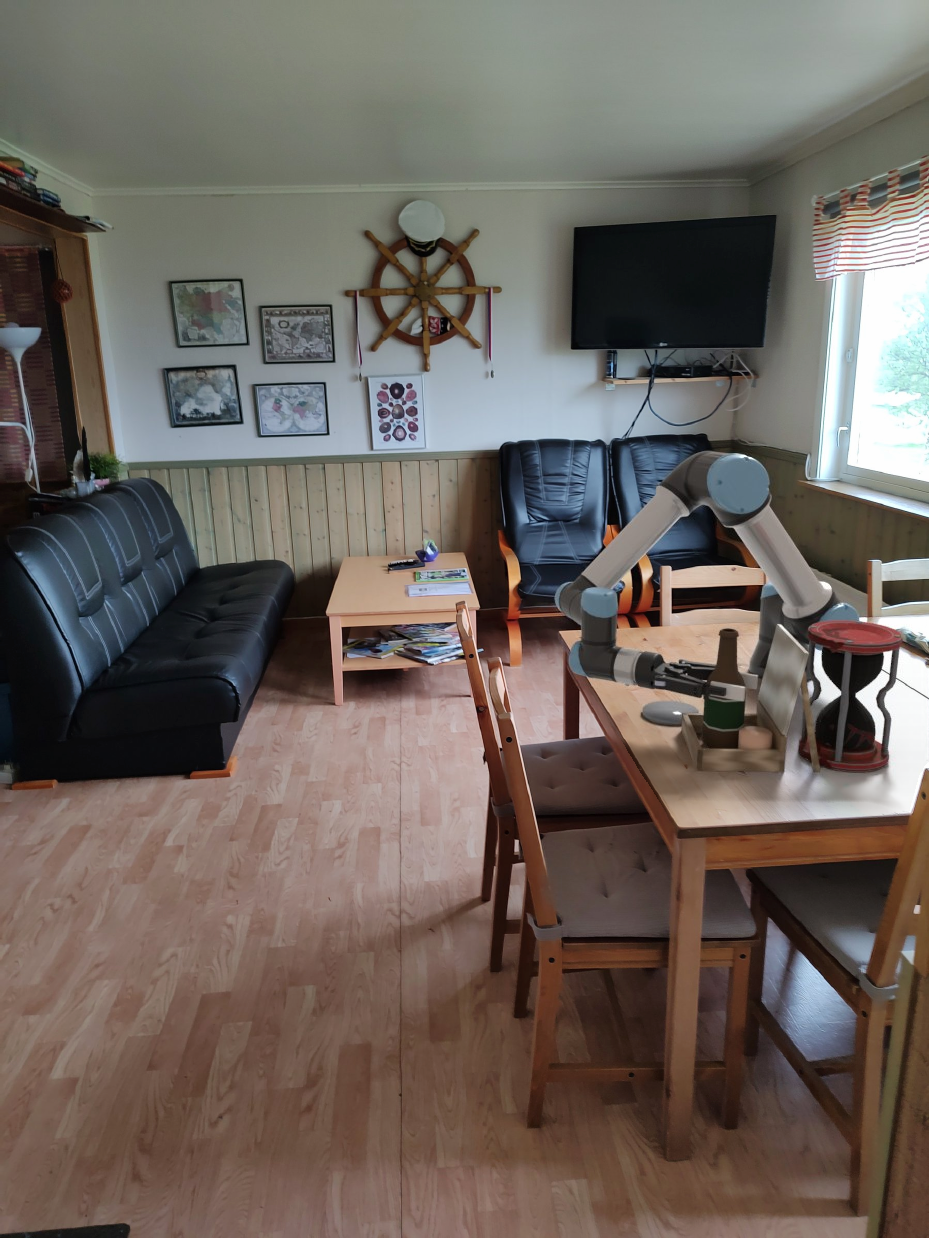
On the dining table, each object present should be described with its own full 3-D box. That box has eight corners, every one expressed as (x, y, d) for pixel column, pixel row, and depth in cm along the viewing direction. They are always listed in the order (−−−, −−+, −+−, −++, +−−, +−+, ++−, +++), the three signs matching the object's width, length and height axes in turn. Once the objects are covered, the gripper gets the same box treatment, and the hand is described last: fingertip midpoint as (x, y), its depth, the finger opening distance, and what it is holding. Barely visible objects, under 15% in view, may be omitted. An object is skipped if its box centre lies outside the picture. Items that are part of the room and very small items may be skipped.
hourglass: (805, 732, 176) (815, 615, 169) (892, 747, 168) (906, 625, 161) (790, 762, 163) (801, 636, 156) (884, 779, 155) (899, 648, 148)
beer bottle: (721, 755, 166) (728, 638, 160) (693, 742, 173) (699, 628, 167) (750, 747, 170) (758, 631, 163) (722, 734, 176) (729, 622, 170)
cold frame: (792, 734, 177) (801, 623, 170) (820, 775, 158) (832, 652, 152) (681, 733, 179) (685, 623, 173) (696, 773, 161) (702, 652, 154)
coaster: (693, 705, 193) (693, 700, 192) (703, 725, 181) (703, 721, 181) (639, 704, 194) (639, 700, 193) (645, 724, 182) (645, 720, 182)
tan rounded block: (765, 754, 166) (767, 726, 165) (774, 768, 161) (776, 738, 159) (734, 754, 167) (735, 726, 165) (741, 767, 161) (743, 738, 159)
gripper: (659, 672, 187) (765, 691, 174) (619, 700, 171) (732, 723, 158) (660, 639, 185) (767, 655, 172) (619, 664, 169) (735, 684, 156)
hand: (750, 688), depth 165 cm, fingers closed on beer bottle, 7 cm apart
